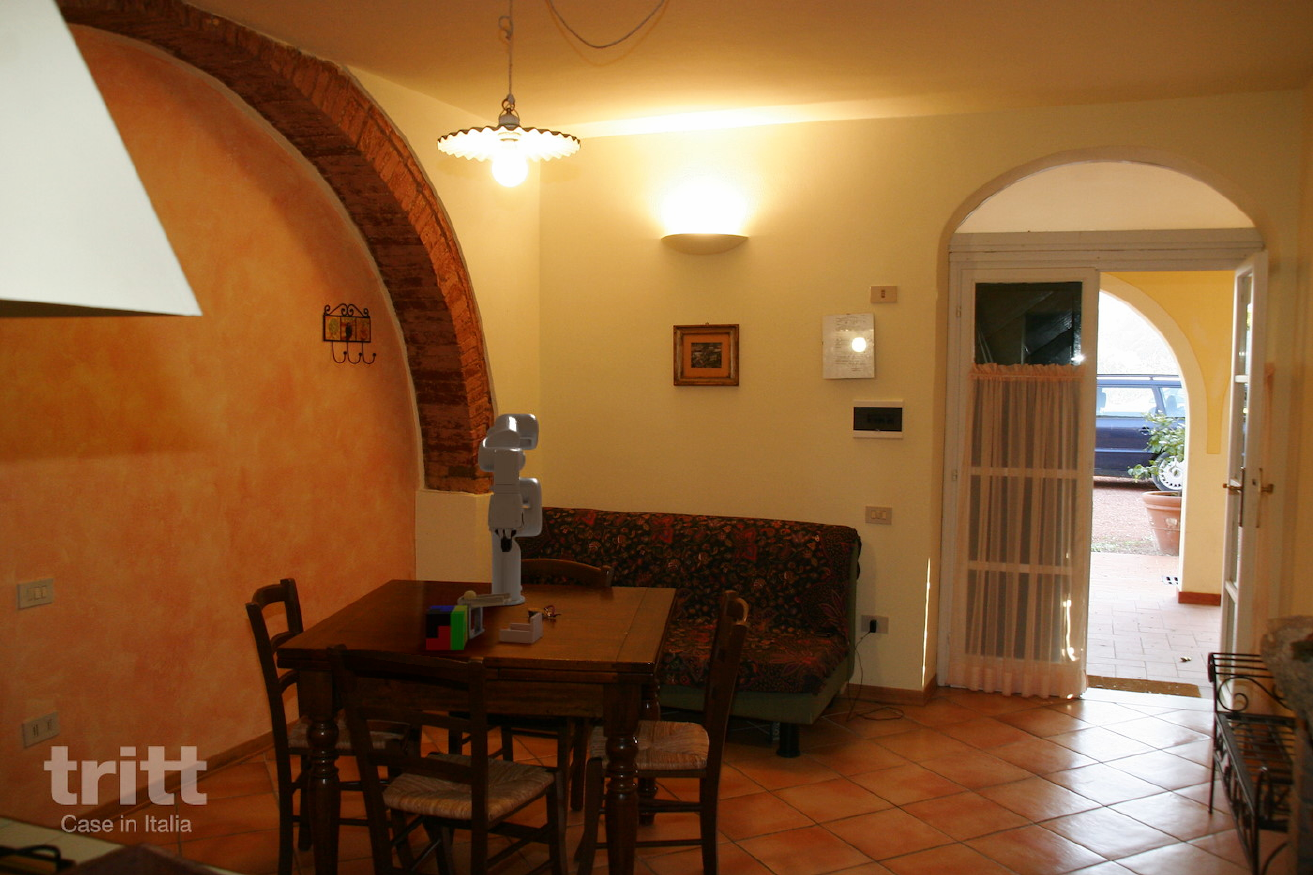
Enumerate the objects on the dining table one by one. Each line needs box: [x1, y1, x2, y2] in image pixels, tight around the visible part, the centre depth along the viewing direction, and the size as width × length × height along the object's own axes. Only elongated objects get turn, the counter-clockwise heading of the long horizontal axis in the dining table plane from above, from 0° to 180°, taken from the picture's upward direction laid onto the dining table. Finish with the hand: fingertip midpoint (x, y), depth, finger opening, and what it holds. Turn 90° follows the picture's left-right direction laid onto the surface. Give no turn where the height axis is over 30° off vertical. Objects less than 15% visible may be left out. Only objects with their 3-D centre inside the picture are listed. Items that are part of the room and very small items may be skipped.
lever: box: [453, 592, 511, 611], centre depth 275 cm, size 12×20×7 cm, turn 77°
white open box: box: [499, 612, 544, 645], centre depth 269 cm, size 9×10×7 cm
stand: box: [463, 603, 486, 640], centre depth 273 cm, size 10×3×10 cm, turn 167°
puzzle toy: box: [425, 605, 468, 651], centre depth 262 cm, size 10×10×10 cm
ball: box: [463, 590, 477, 599], centre depth 273 cm, size 4×4×4 cm
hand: (506, 551), depth 280 cm, fingers closed
